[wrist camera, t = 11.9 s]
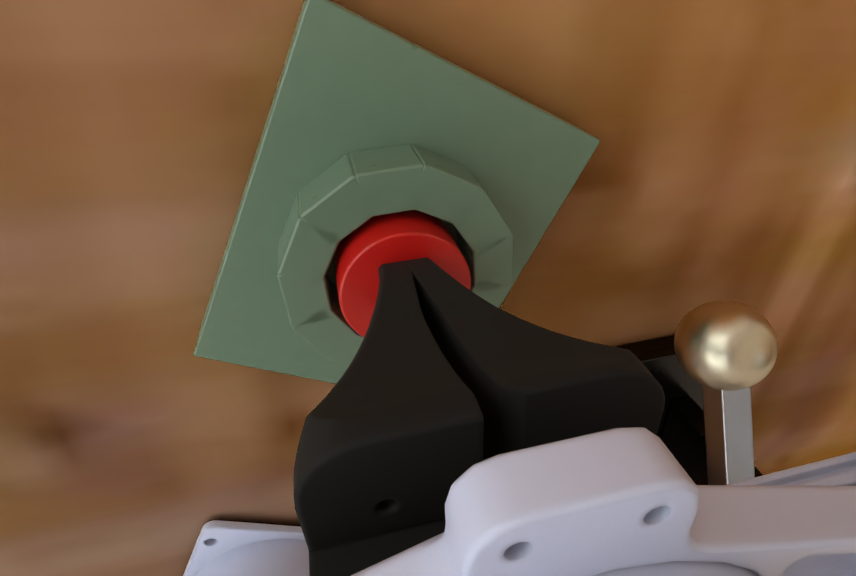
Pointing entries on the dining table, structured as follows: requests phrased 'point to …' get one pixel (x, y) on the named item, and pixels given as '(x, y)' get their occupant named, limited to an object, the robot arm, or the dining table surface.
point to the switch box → (376, 186)
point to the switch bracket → (678, 406)
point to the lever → (726, 379)
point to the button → (390, 258)
